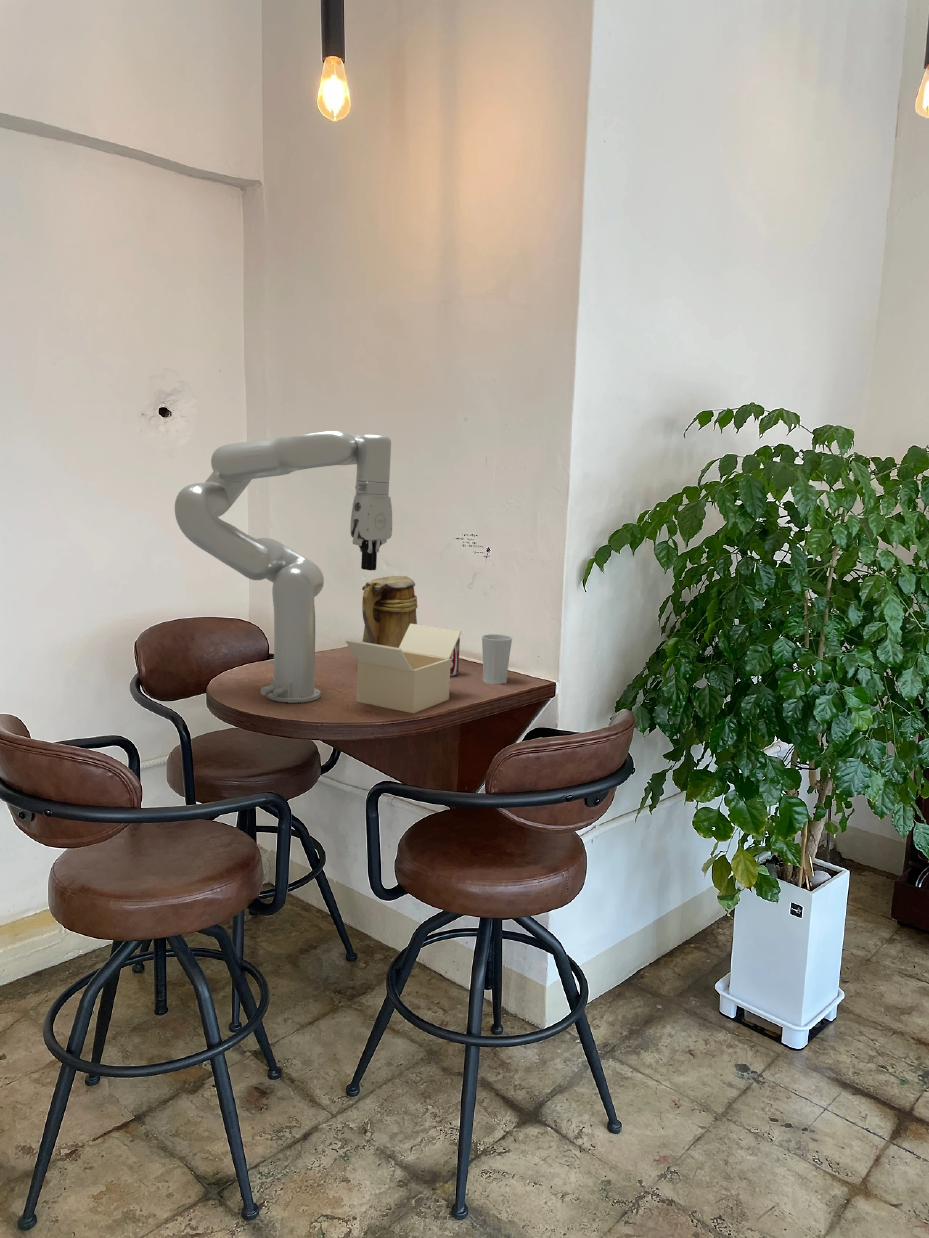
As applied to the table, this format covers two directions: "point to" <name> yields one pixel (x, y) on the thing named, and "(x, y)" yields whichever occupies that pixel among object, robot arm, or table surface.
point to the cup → (495, 658)
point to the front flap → (379, 655)
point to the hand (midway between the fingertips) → (368, 569)
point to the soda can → (455, 659)
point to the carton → (405, 683)
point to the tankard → (388, 610)
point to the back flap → (430, 641)
